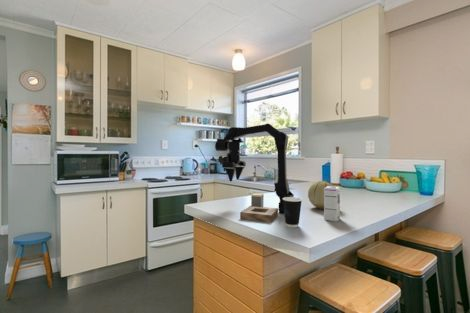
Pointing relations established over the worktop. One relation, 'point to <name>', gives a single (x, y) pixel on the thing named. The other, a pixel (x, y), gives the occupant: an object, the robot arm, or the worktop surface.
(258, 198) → the plug
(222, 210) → the worktop surface
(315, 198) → the cantaloupe
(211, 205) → the worktop surface
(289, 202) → the dixie cup
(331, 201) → the syrup box
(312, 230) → the worktop surface
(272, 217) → the socket block
